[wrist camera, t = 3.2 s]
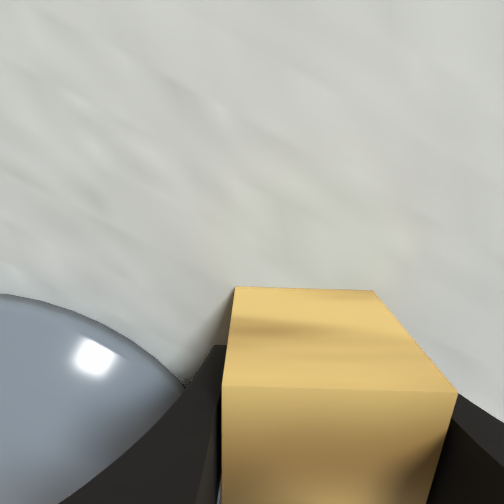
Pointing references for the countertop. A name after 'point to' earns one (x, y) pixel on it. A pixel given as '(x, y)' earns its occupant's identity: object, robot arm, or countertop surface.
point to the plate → (70, 399)
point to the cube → (328, 402)
